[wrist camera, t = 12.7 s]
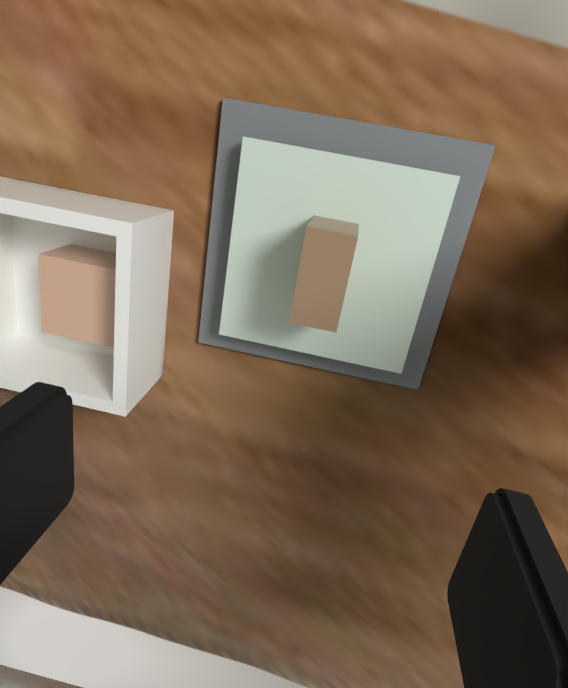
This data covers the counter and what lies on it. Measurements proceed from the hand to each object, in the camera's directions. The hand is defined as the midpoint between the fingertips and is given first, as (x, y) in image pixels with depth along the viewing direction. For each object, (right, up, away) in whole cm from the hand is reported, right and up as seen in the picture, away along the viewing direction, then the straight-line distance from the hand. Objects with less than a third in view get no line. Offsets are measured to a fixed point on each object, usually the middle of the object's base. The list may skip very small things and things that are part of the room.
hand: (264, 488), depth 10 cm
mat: (+4, +10, +24) cm, 26 cm away
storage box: (-16, +8, +28) cm, 33 cm away
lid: (+4, +9, +23) cm, 25 cm away
